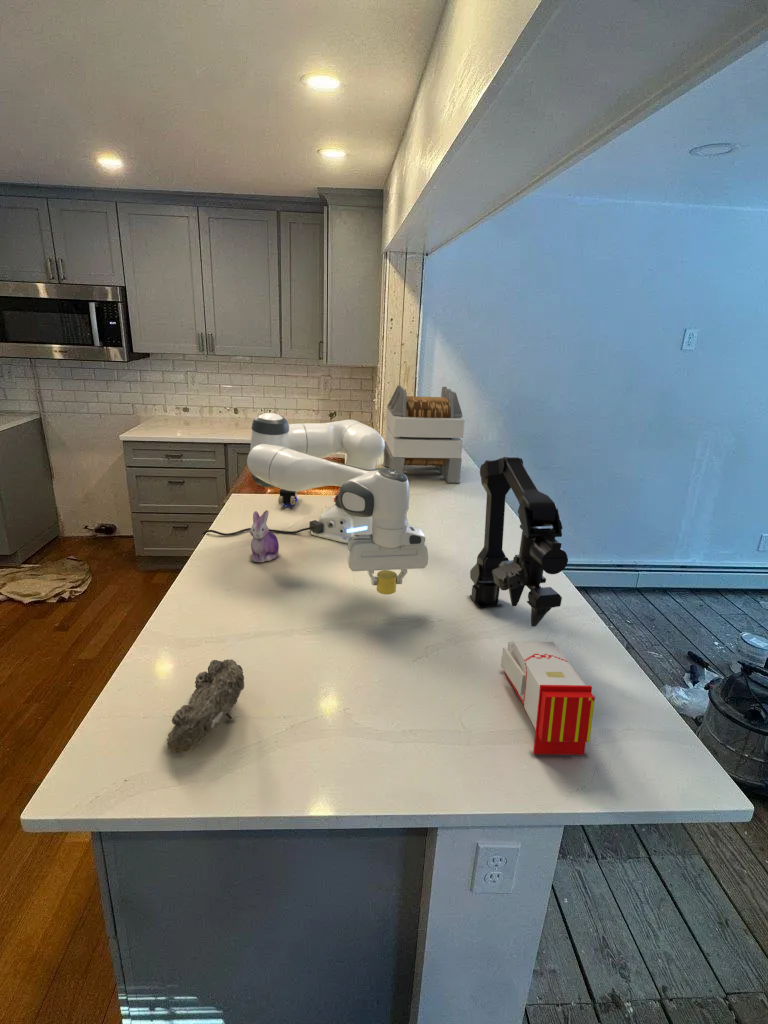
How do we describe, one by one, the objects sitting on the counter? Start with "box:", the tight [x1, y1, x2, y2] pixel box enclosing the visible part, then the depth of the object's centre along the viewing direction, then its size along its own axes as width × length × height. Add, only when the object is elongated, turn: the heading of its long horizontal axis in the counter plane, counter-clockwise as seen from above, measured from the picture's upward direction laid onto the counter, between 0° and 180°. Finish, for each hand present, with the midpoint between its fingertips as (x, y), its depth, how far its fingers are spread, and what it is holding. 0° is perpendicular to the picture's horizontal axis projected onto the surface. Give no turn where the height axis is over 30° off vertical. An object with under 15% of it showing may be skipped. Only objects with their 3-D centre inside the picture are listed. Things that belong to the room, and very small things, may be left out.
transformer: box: [383, 384, 465, 484], centre depth 268 cm, size 34×33×41 cm
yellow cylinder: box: [376, 570, 398, 595], centre depth 145 cm, size 5×5×4 cm
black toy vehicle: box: [278, 489, 299, 510], centre depth 223 cm, size 7×8×15 cm
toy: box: [500, 640, 596, 756], centre depth 114 cm, size 12×13×30 cm
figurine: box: [249, 509, 280, 563], centre depth 174 cm, size 9×10×15 cm
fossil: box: [166, 658, 245, 754], centre depth 106 cm, size 22×10×15 cm
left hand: (386, 583), depth 146 cm, fingers closed on yellow cylinder, 5 cm apart
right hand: (523, 615), depth 131 cm, fingers open, 9 cm apart
